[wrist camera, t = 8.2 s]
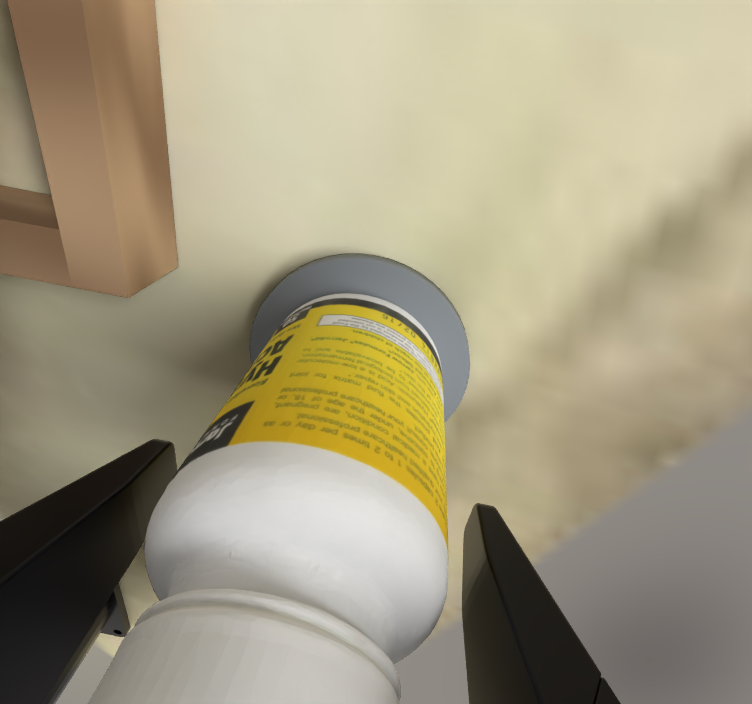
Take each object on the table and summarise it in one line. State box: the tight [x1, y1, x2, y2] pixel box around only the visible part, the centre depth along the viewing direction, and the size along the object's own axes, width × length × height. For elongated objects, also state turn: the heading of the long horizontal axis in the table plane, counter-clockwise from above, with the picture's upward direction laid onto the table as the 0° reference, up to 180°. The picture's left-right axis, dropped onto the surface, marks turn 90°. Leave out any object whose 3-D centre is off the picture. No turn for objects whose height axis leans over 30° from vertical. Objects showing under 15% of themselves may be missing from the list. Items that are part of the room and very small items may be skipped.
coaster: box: [250, 254, 470, 423], centre depth 14 cm, size 7×7×1 cm
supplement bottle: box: [88, 293, 448, 704], centre depth 9 cm, size 5×5×10 cm
